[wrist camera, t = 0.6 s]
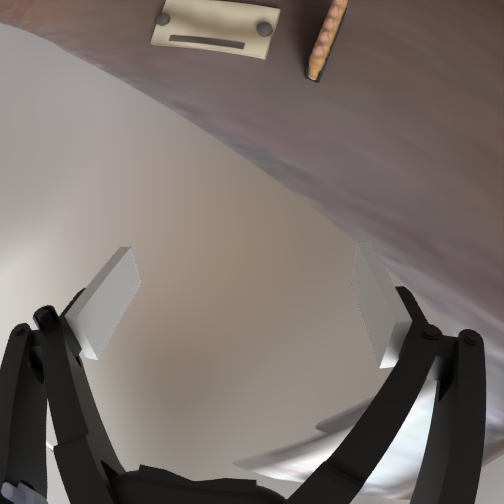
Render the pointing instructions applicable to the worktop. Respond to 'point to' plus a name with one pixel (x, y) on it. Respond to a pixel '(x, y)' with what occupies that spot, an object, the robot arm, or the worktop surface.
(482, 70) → the worktop surface
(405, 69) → the worktop surface
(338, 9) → the ammunition clip
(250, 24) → the plate
